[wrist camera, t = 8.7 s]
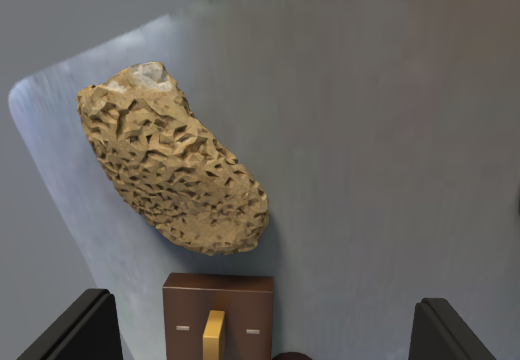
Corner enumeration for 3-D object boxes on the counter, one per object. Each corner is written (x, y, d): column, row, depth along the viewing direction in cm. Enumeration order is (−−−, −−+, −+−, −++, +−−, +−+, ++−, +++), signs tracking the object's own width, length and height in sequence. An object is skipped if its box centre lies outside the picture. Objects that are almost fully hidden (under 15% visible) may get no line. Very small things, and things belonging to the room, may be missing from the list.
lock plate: (273, 276, 37) (273, 293, 34) (270, 349, 39) (270, 370, 36) (170, 272, 37) (161, 288, 34) (174, 344, 40) (166, 364, 36)
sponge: (93, 110, 34) (169, 281, 34) (47, 88, 26) (146, 310, 26) (206, 63, 34) (280, 230, 35) (195, 27, 27) (290, 244, 27)
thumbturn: (210, 309, 34) (202, 338, 30) (225, 310, 34) (218, 339, 30) (210, 348, 36) (202, 380, 32) (225, 349, 36) (218, 381, 32)
